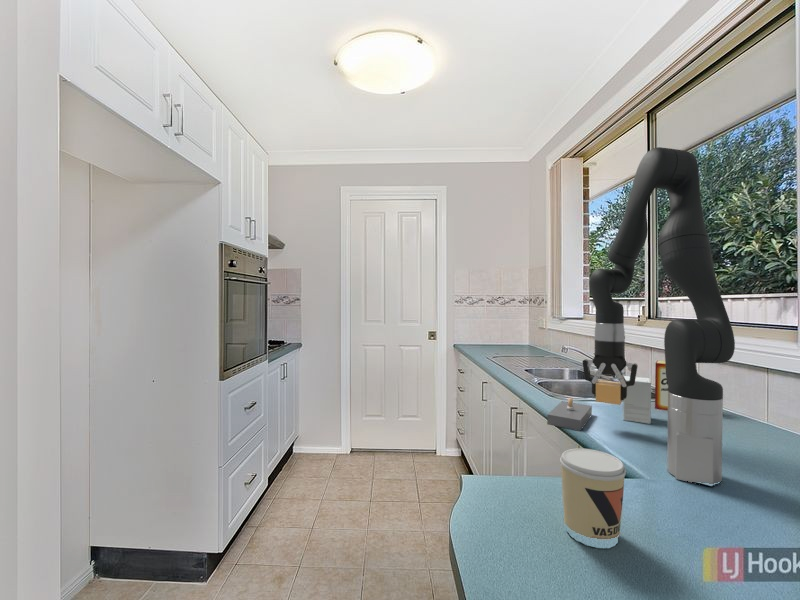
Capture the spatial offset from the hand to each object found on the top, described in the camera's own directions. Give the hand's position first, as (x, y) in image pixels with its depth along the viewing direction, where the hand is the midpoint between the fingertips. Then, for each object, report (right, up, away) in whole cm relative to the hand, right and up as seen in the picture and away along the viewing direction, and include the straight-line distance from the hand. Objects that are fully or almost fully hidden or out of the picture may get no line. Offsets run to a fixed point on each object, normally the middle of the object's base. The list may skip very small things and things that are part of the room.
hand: (609, 397), depth 109 cm
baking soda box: (+33, -9, +21) cm, 40 cm away
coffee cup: (-29, -10, -48) cm, 57 cm away
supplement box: (+14, -9, +10) cm, 20 cm away
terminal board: (-7, -9, +9) cm, 15 cm away
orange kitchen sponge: (0, -1, 0) cm, 1 cm away
